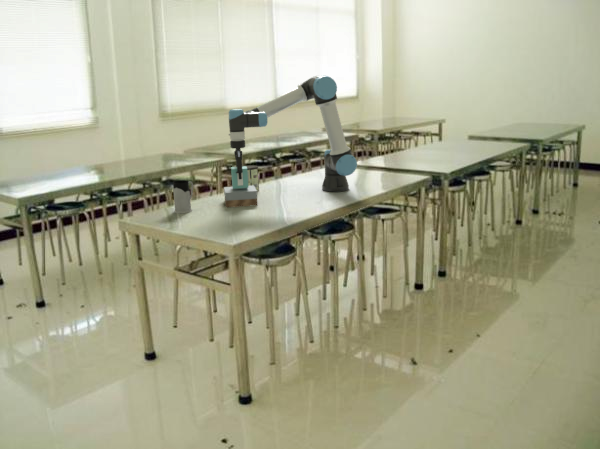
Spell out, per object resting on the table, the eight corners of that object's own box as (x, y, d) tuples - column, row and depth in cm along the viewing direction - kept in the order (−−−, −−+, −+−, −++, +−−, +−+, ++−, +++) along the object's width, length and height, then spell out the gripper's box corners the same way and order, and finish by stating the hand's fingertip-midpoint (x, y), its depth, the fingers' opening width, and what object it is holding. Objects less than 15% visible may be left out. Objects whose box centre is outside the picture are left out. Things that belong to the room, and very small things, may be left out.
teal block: (247, 185, 312) (246, 166, 309) (248, 187, 304) (247, 168, 301) (232, 185, 310) (231, 167, 308) (232, 188, 303) (231, 169, 300)
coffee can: (245, 188, 348) (244, 165, 344) (261, 189, 344) (260, 165, 341) (238, 192, 338) (237, 167, 335) (254, 192, 335) (253, 168, 331)
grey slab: (254, 192, 317) (253, 185, 316) (257, 198, 302) (256, 190, 301) (224, 194, 315) (223, 187, 314) (225, 200, 300) (225, 192, 299)
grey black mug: (170, 212, 292) (168, 182, 289) (187, 206, 305) (184, 177, 301) (185, 213, 289) (183, 183, 285) (201, 207, 302) (199, 178, 298)
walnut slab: (254, 200, 318) (254, 192, 317) (257, 206, 303) (257, 198, 302) (225, 201, 316) (224, 194, 315) (226, 208, 301) (225, 200, 300)
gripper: (229, 138, 311) (232, 180, 316) (230, 142, 291) (233, 187, 296) (243, 137, 312) (246, 179, 317) (246, 141, 292) (248, 187, 297)
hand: (240, 183), depth 307 cm, fingers open, 8 cm apart
